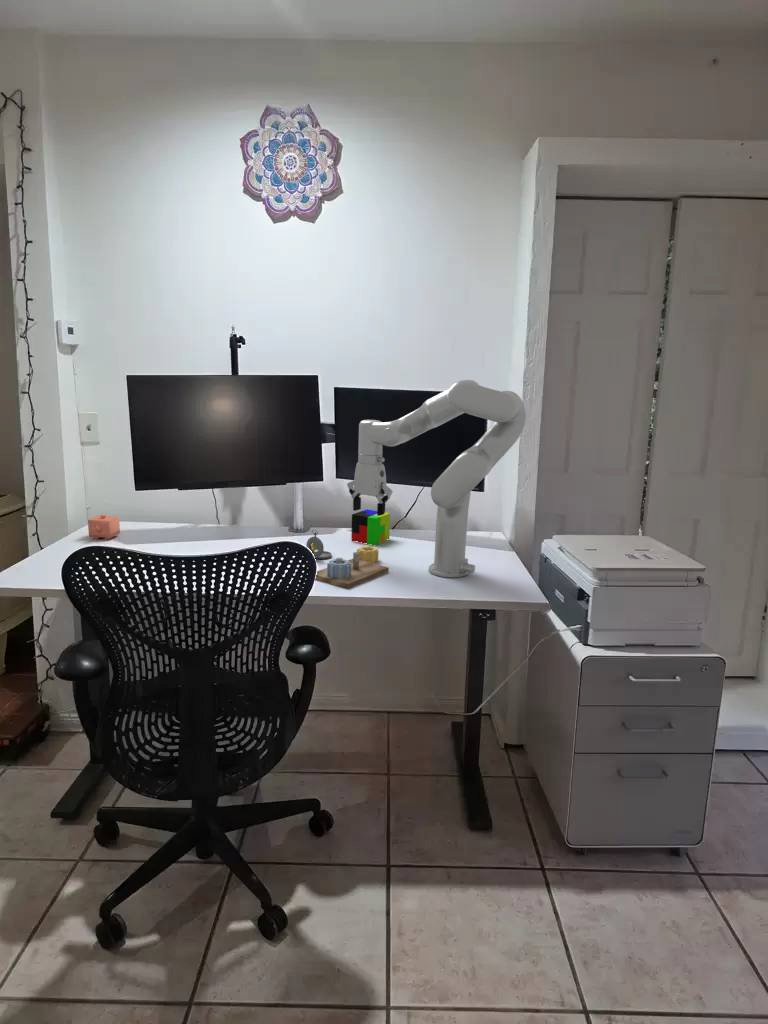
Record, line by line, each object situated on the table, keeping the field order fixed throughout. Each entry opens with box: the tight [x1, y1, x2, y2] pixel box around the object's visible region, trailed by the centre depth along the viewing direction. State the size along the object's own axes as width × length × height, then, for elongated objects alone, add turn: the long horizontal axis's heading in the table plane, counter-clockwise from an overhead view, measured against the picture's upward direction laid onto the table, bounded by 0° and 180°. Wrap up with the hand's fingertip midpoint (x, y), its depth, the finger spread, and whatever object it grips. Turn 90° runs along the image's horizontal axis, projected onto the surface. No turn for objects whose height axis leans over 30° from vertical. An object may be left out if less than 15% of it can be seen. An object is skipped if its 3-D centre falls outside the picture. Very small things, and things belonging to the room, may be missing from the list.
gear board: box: [315, 551, 390, 590], centre depth 199 cm, size 14×20×6 cm
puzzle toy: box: [350, 508, 391, 546], centre depth 237 cm, size 10×10×10 cm
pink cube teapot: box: [87, 514, 121, 540], centre depth 229 cm, size 8×12×8 cm, turn 174°
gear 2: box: [356, 545, 379, 564], centre depth 214 cm, size 7×7×4 cm
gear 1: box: [326, 558, 351, 579], centre depth 194 cm, size 7×7×4 cm
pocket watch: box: [305, 529, 333, 560], centre depth 215 cm, size 8×8×10 cm
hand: (368, 512), depth 211 cm, fingers open, 9 cm apart
